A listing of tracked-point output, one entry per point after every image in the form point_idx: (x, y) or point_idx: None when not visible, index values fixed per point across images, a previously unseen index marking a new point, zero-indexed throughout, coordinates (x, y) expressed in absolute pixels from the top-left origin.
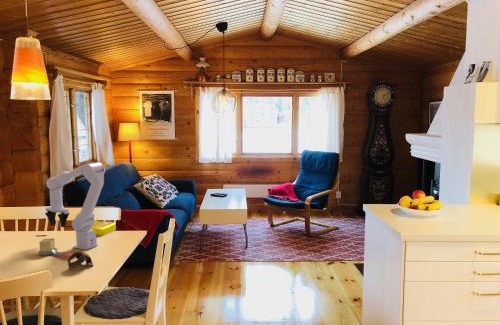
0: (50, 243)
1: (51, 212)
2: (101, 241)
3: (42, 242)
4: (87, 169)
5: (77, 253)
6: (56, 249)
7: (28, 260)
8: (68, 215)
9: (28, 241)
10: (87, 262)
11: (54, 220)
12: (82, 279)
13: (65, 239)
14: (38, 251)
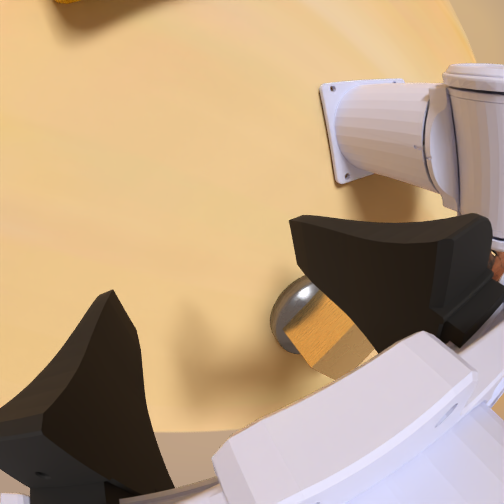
0: None
1: (144, 491)
2: (356, 18)
3: (350, 369)
4: None
5: (495, 276)
6: None
7: (320, 373)
8: (449, 222)
9: (6, 340)
10: None
11: (106, 329)
12: None
13: (103, 134)
14: (297, 353)
